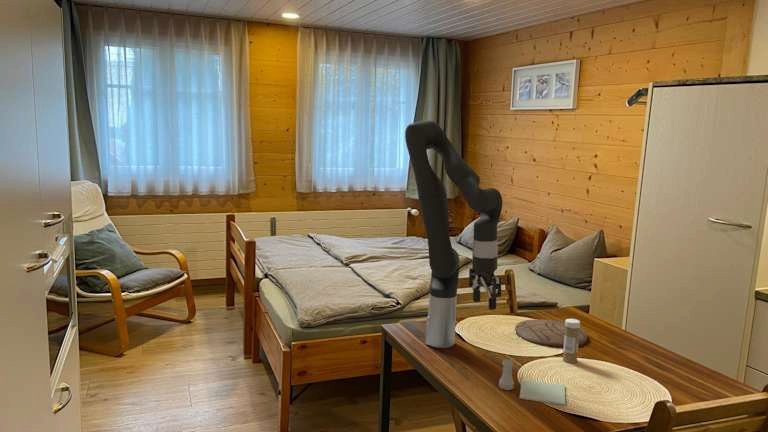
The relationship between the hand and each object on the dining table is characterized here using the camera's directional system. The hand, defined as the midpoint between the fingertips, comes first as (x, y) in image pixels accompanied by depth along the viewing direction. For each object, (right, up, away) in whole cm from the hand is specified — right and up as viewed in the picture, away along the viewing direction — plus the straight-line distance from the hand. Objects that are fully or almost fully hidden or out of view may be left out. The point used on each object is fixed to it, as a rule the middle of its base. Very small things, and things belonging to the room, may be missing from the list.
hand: (484, 305), depth 180 cm
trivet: (+29, -16, +31) cm, 46 cm away
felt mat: (+14, -22, -16) cm, 30 cm away
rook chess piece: (+4, -22, -13) cm, 26 cm away
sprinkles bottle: (+29, -19, +8) cm, 35 cm away
